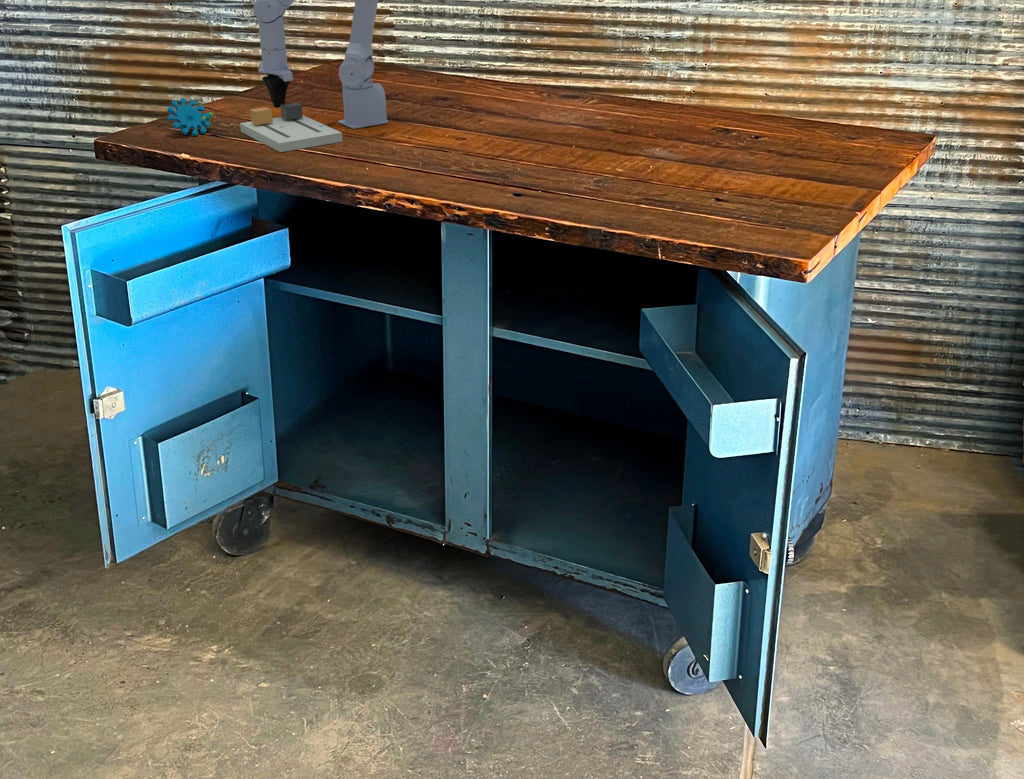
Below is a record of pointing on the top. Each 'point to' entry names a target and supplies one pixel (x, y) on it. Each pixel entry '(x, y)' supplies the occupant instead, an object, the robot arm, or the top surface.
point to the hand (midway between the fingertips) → (279, 106)
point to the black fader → (291, 111)
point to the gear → (189, 117)
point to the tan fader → (261, 116)
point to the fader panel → (292, 133)
